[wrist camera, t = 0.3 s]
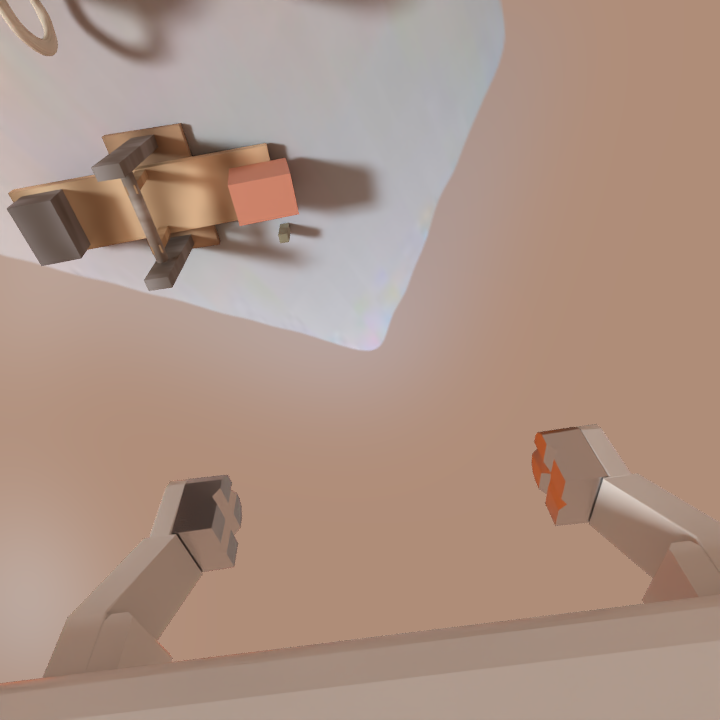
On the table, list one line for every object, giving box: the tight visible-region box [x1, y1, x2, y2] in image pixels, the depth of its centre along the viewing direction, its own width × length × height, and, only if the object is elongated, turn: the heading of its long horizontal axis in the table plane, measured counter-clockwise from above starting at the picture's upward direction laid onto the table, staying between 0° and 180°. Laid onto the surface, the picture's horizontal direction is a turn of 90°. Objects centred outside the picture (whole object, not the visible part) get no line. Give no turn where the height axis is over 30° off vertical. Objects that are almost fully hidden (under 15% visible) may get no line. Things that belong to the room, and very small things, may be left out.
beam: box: [7, 143, 270, 266], centre depth 48 cm, size 26×9×7 cm, turn 98°
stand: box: [91, 123, 290, 291], centre depth 47 cm, size 16×13×11 cm
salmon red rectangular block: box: [228, 158, 299, 226], centre depth 48 cm, size 6×4×6 cm, turn 98°
